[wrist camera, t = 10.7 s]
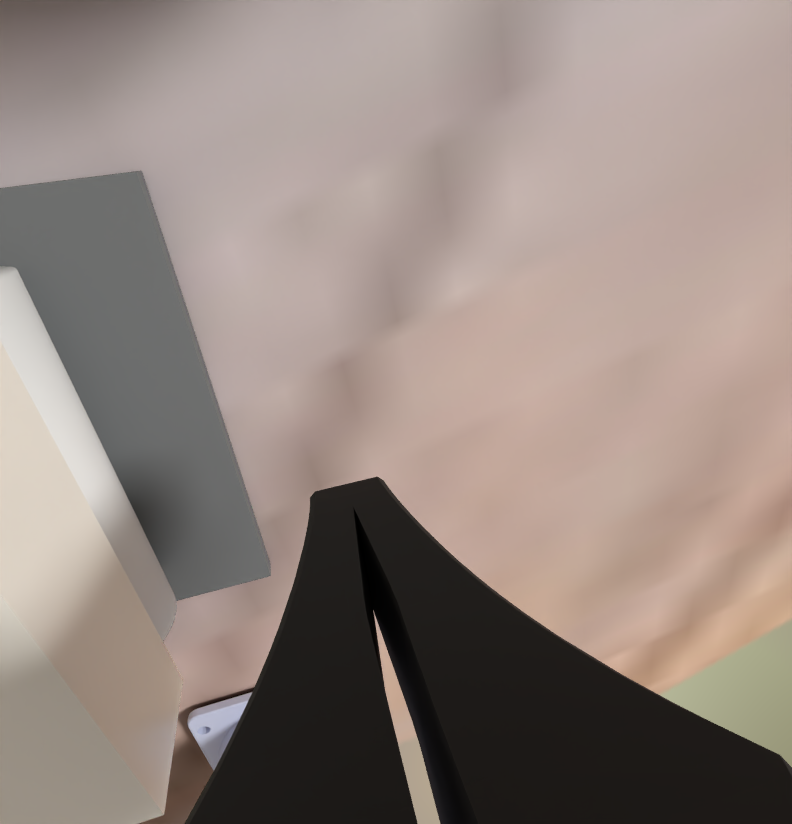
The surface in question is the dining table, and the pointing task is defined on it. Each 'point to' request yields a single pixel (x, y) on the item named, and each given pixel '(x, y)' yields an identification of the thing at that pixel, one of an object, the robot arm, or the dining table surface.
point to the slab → (72, 647)
